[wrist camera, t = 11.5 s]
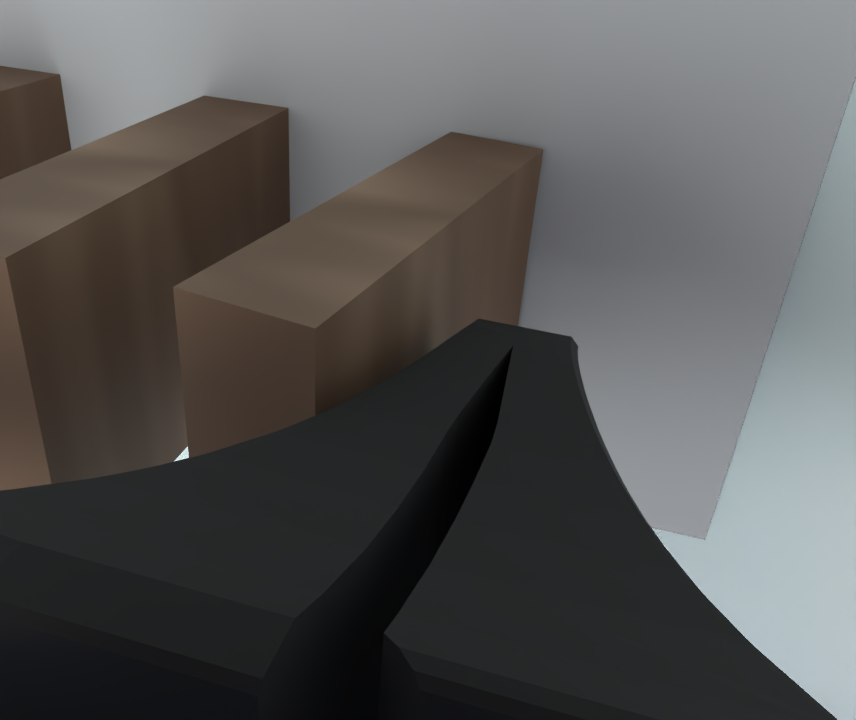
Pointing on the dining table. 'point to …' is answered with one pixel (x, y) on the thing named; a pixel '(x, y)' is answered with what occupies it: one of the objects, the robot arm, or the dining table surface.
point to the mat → (560, 169)
